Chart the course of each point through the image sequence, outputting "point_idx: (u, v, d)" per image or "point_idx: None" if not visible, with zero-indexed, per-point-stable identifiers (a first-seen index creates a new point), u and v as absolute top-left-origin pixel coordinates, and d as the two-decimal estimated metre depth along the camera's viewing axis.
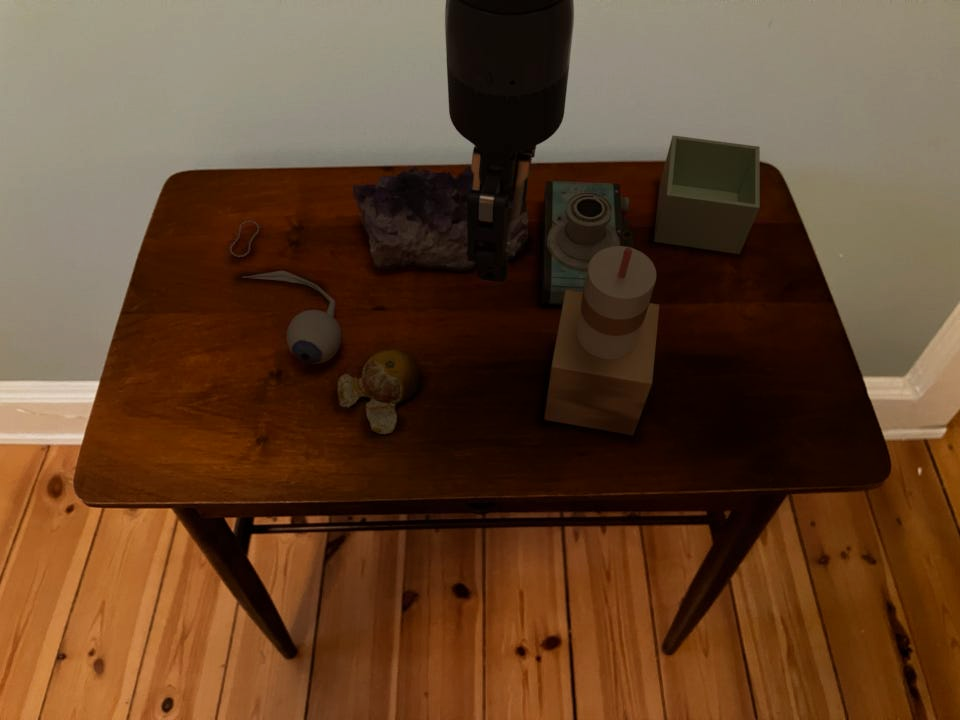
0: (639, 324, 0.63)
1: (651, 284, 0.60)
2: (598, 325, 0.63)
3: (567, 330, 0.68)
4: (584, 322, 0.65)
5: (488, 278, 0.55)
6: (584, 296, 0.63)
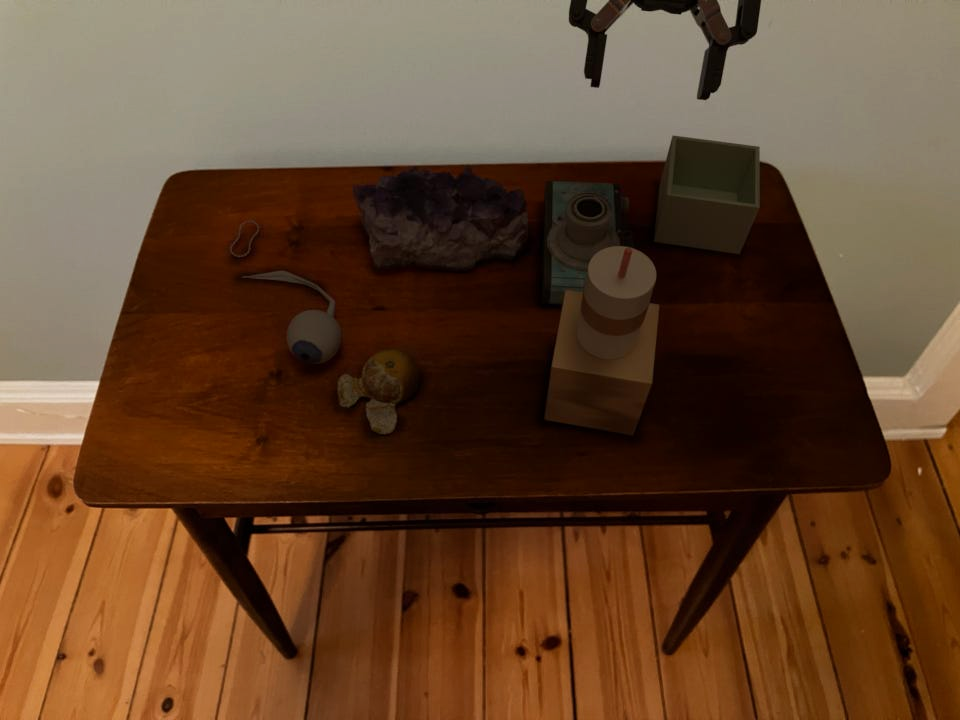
0: (639, 324, 0.63)
1: (651, 284, 0.60)
2: (598, 325, 0.63)
3: (567, 330, 0.68)
4: (584, 322, 0.65)
5: (584, 72, 0.59)
6: (584, 296, 0.63)
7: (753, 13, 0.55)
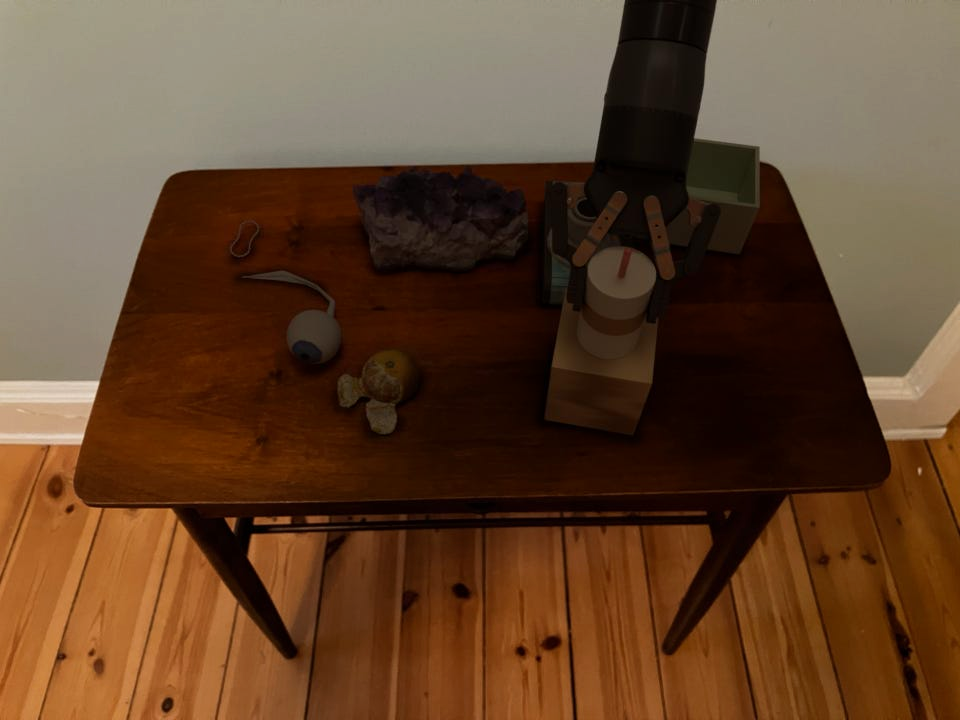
0: (639, 324, 0.63)
1: (650, 284, 0.60)
2: (597, 325, 0.63)
3: (567, 330, 0.68)
4: (584, 322, 0.65)
5: None
6: (584, 296, 0.63)
7: (698, 255, 0.60)
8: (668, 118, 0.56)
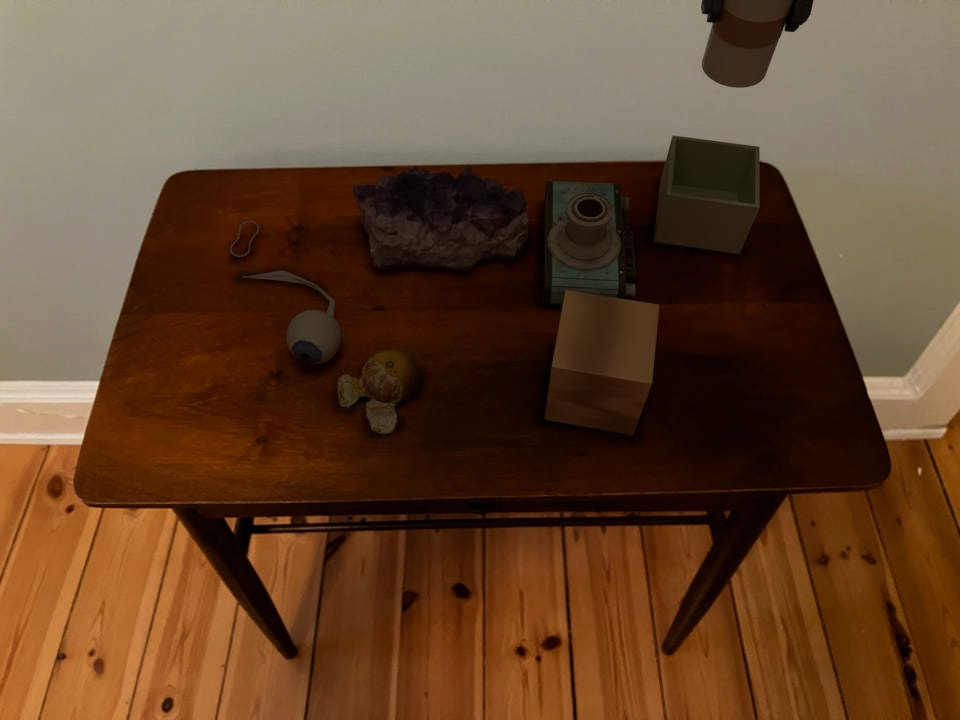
0: (778, 36, 0.60)
1: None
2: (735, 35, 0.60)
3: (567, 330, 0.68)
4: (717, 39, 0.62)
5: (702, 6, 0.60)
6: (721, 4, 0.60)
7: None
8: None
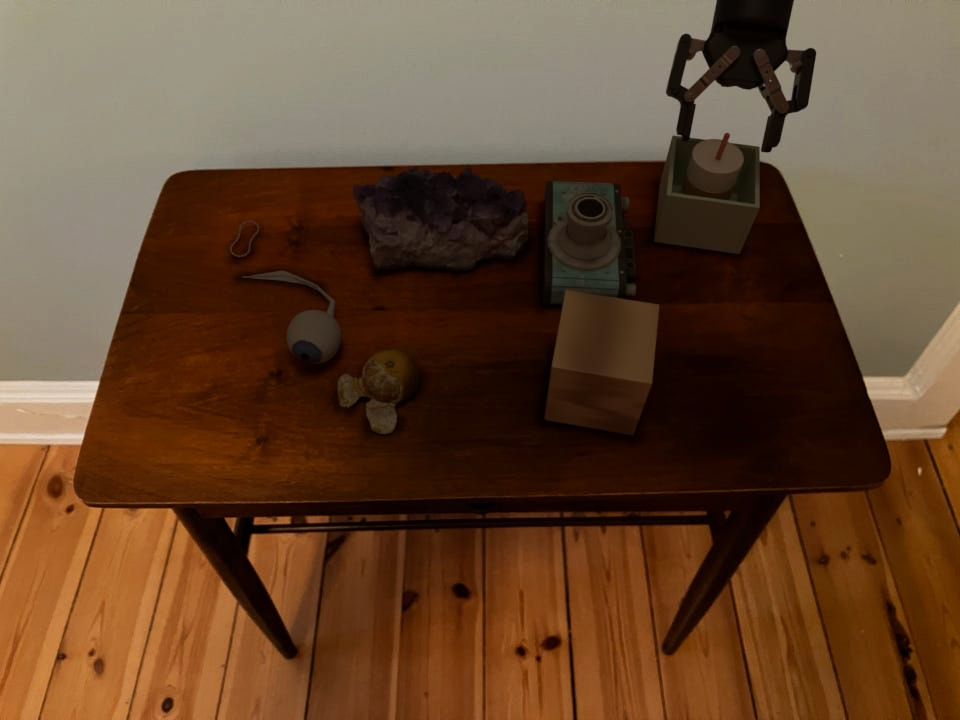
0: (727, 199, 0.84)
1: (740, 164, 0.81)
2: None
3: (567, 330, 0.68)
4: None
5: (677, 130, 0.79)
6: (687, 177, 0.84)
7: (805, 91, 0.76)
8: None
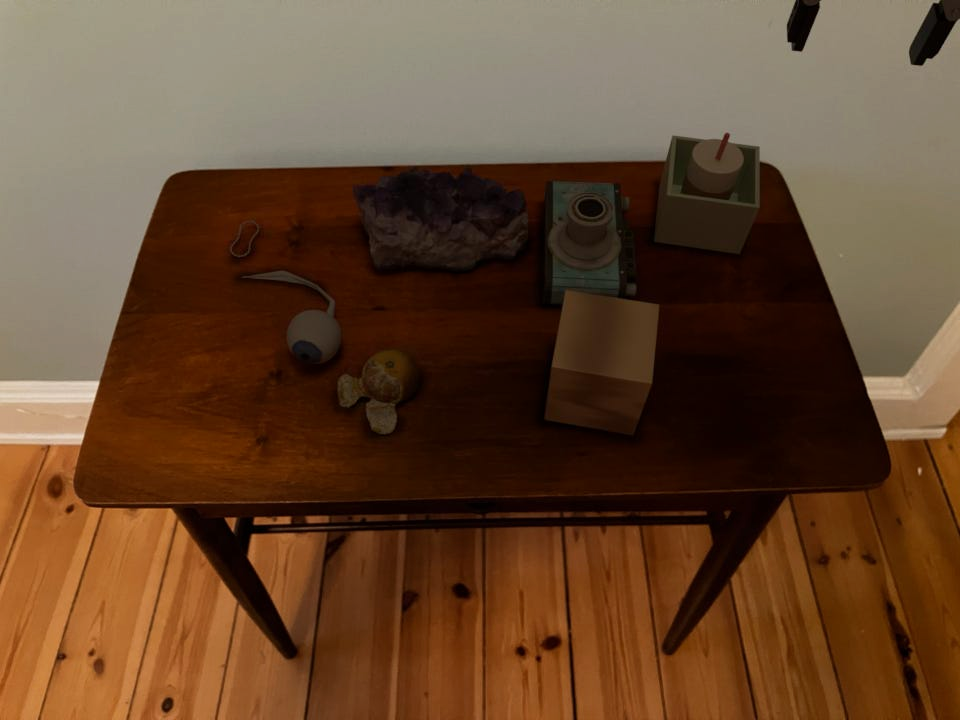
0: (727, 199, 0.84)
1: (740, 164, 0.81)
2: None
3: (567, 330, 0.68)
4: None
5: (787, 30, 0.55)
6: (687, 177, 0.84)
7: None
8: None
